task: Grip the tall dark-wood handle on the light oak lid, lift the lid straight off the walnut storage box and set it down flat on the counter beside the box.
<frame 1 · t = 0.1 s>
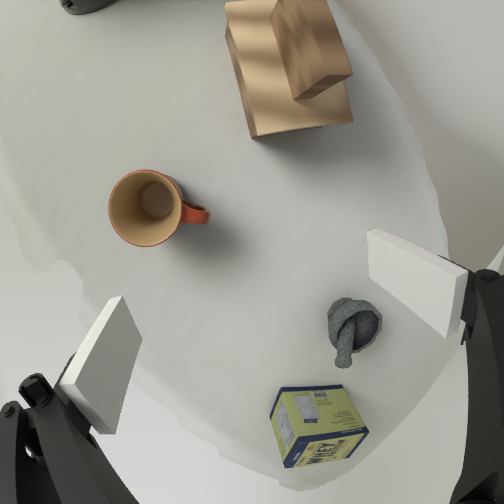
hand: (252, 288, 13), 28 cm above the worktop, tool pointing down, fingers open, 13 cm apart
mug: (170, 200, 39), on the worktop
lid: (287, 59, 27), point 8 cm above the worktop, touching box
mortar and pestle: (338, 313, 49), on the worktop
protein box: (305, 400, 55), on the worktop
box: (273, 77, 35), on the worktop
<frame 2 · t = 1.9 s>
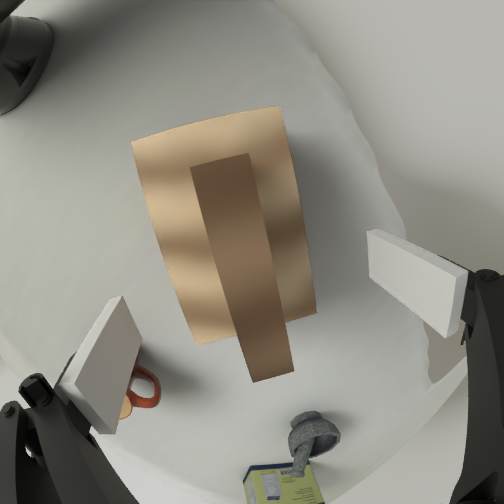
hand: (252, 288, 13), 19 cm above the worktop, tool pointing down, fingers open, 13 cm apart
mug: (126, 350, 35), on the worktop
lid: (231, 231, 24), point 8 cm above the worktop, touching box
mortar and pestle: (302, 421, 46), on the worktop
protein box: (275, 471, 52), on the worktop
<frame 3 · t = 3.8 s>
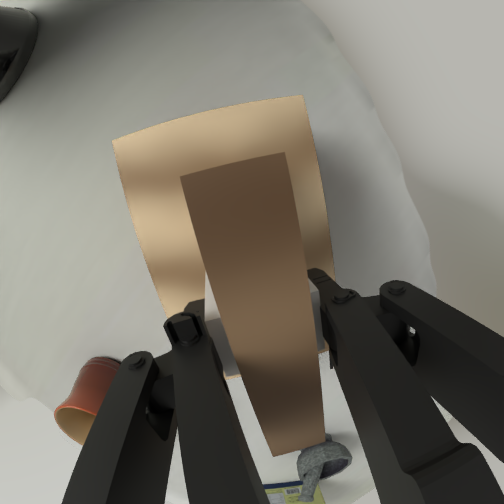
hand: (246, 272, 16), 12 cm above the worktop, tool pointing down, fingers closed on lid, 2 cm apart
mug: (121, 376, 30), on the worktop
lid: (240, 253, 19), point 8 cm above the worktop, touching box, gripper
mortar and pestle: (311, 443, 40), on the worktop
protein box: (280, 488, 47), on the worktop
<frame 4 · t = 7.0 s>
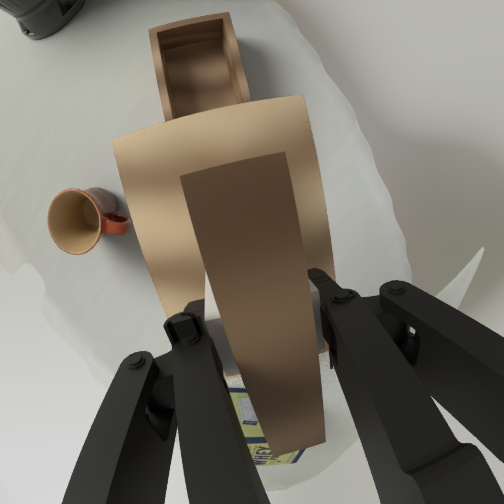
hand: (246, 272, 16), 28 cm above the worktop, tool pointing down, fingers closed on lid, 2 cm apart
mug: (109, 210, 40), on the worktop
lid: (240, 253, 19), point 25 cm above the worktop, touching gripper
protein box: (255, 402, 57), on the worktop
box: (201, 87, 36), on the worktop
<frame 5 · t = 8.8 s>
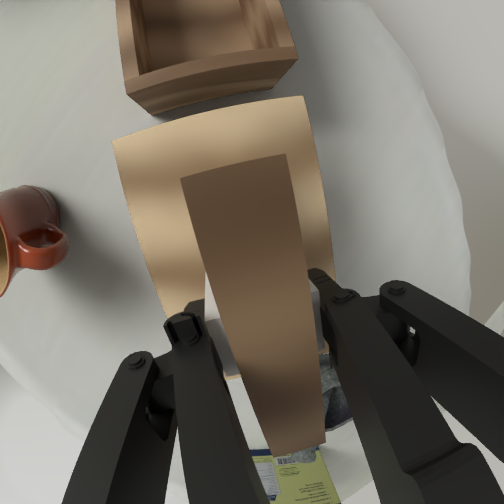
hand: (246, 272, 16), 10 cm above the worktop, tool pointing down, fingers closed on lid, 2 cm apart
mug: (50, 220, 22), on the worktop
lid: (240, 254, 19), point 7 cm above the worktop, touching gripper
mortar and pestle: (309, 373, 33), on the worktop
protein box: (271, 460, 39), on the worktop
box: (194, 22, 18), on the worktop
when the fingers open (5 cm above the worktop, at t = 10.2 s): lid drops 1 cm, point 1 cm above the worktop.
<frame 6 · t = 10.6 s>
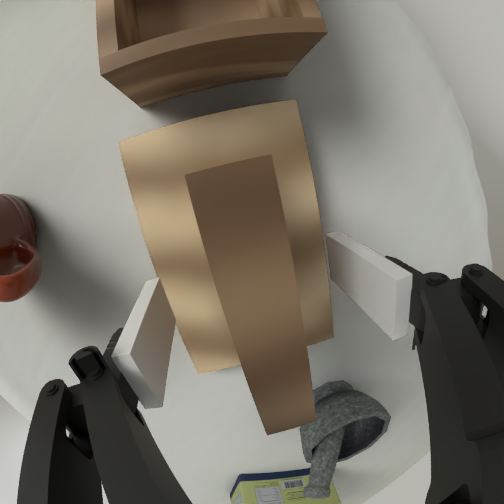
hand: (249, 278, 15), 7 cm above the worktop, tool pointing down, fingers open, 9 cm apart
mug: (26, 234, 18), on the worktop
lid: (237, 247, 20), point 1 cm above the worktop
mortar and pestle: (322, 400, 28), on the worktop
protein box: (276, 481, 35), on the worktop
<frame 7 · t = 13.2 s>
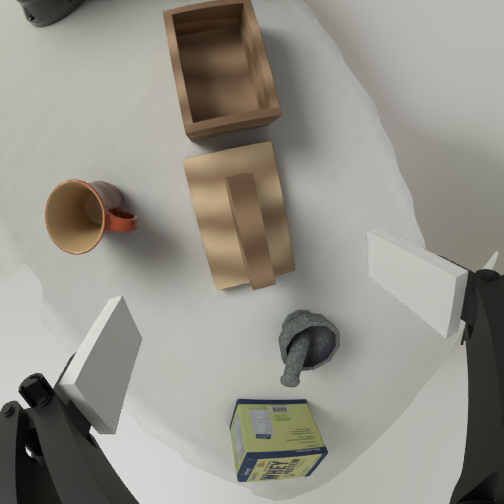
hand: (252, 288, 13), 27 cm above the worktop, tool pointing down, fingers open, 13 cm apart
mug: (113, 207, 36), on the worktop
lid: (241, 215, 39), point 1 cm above the worktop
mortar and pestle: (295, 326, 46), on the worktop
protein box: (267, 413, 53), on the worktop
box: (217, 76, 33), on the worktop
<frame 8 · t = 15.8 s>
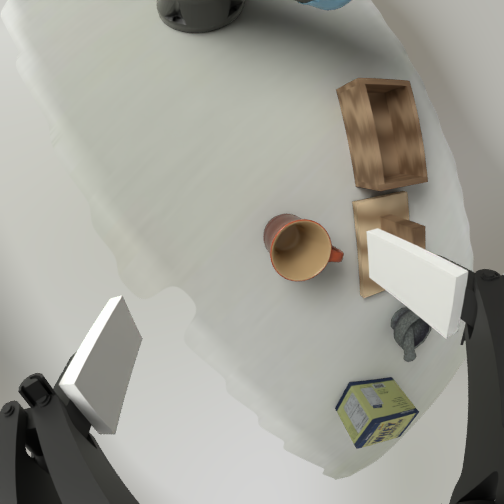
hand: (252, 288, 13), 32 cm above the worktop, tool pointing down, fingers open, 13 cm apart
mug: (291, 235, 47), on the worktop
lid: (383, 243, 49), point 1 cm above the worktop
mortar and pestle: (398, 320, 57), on the worktop
protein box: (364, 392, 64), on the worktop
box: (372, 134, 43), on the worktop
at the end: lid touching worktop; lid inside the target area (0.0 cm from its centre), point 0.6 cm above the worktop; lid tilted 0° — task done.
